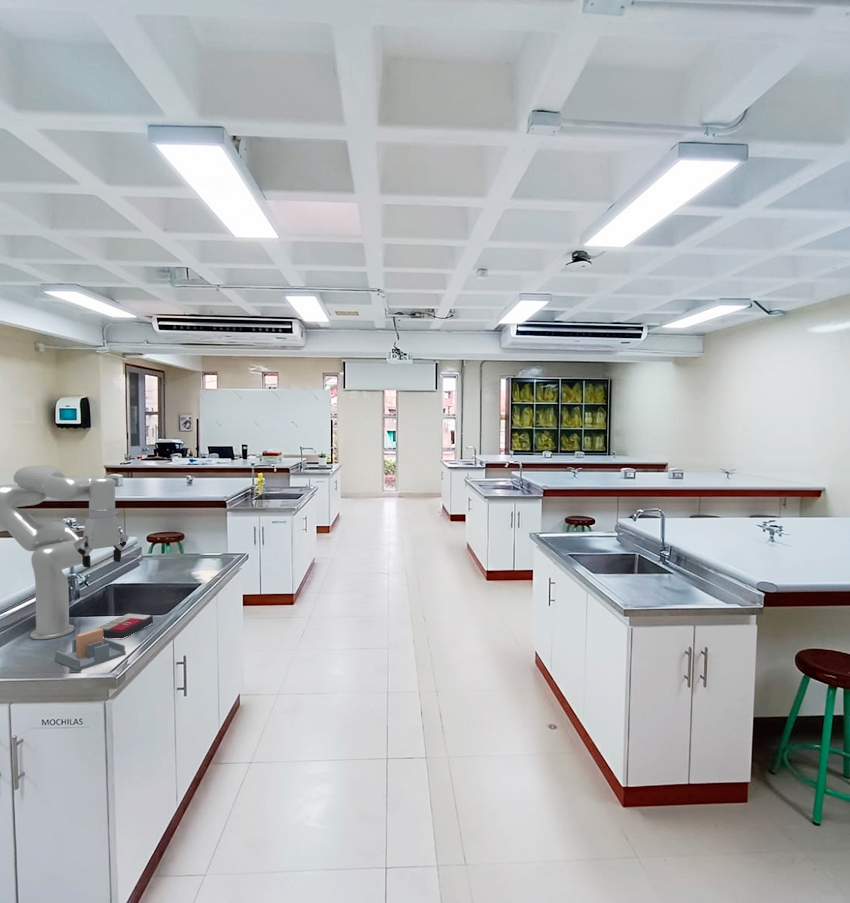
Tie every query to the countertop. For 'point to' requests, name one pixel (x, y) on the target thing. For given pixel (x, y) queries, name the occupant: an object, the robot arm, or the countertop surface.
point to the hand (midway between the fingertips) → (102, 564)
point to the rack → (91, 654)
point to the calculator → (125, 625)
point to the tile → (87, 641)
